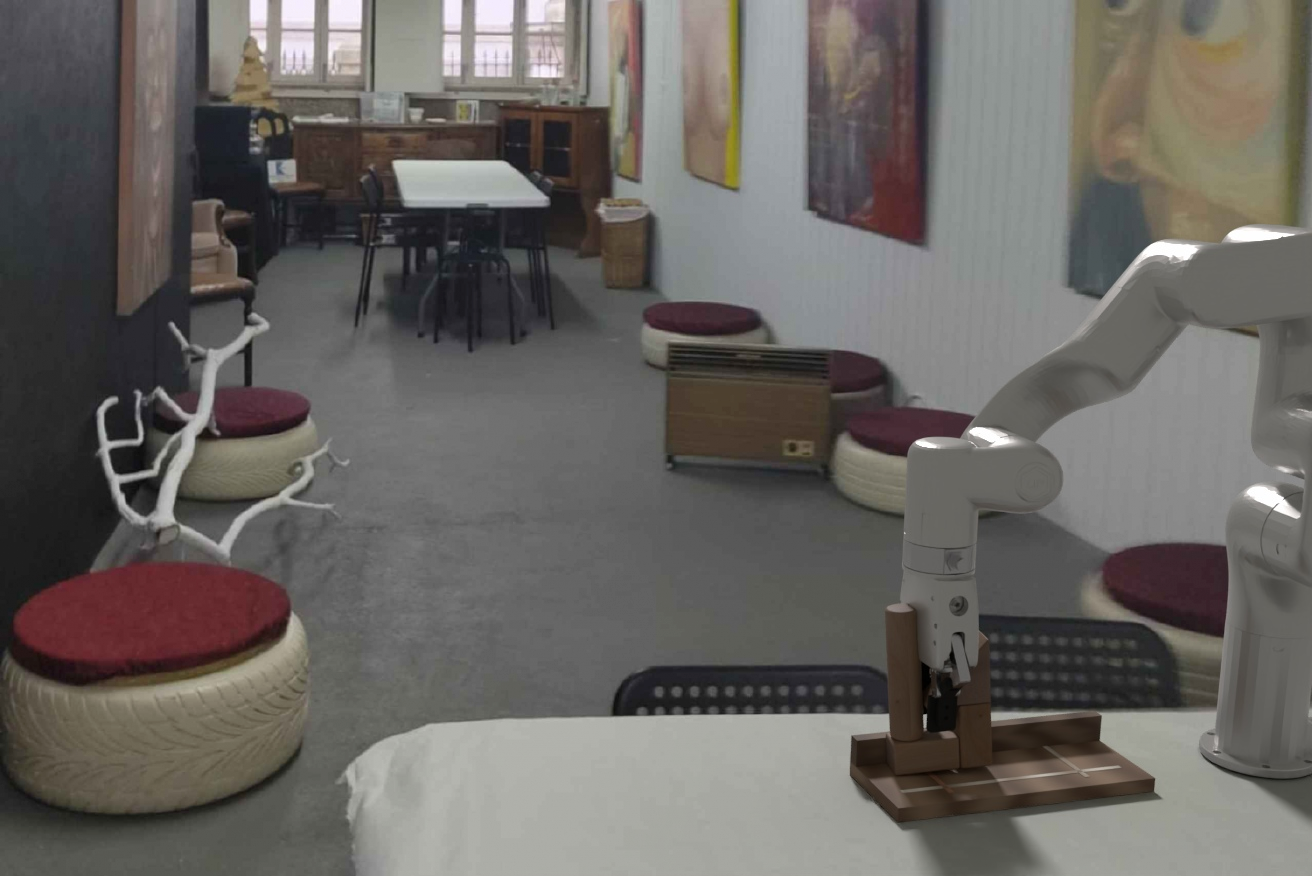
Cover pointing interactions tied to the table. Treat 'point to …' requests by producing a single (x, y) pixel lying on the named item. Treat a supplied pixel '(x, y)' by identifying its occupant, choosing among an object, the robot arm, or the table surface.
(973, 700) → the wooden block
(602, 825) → the table surface
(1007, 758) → the marking board
